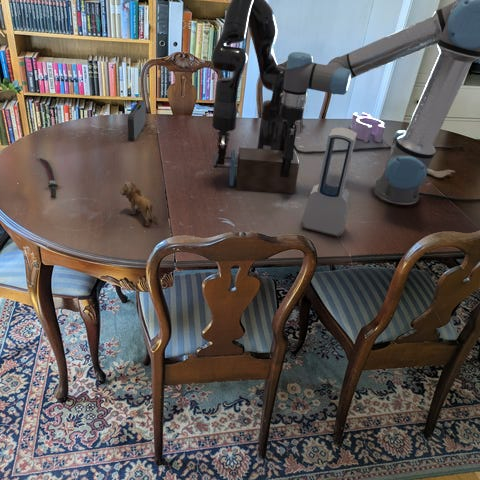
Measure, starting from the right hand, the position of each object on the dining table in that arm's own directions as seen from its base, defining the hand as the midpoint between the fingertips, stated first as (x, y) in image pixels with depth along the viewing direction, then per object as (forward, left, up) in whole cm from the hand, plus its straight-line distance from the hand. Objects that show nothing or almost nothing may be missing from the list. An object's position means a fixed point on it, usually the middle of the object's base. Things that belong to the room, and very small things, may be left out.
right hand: (282, 170), depth 159 cm
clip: (-43, -62, -6) cm, 76 cm away
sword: (+77, +9, -6) cm, 77 cm away
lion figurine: (+43, +29, -6) cm, 52 cm away
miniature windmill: (-10, -62, -6) cm, 63 cm away
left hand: (+21, +1, +1) cm, 21 cm away
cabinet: (+5, 0, -6) cm, 8 cm away
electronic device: (-11, +27, -6) cm, 30 cm away
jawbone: (-62, -28, -6) cm, 68 cm away
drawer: (+11, 0, -5) cm, 12 cm away
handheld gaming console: (+57, -39, -6) cm, 70 cm away
